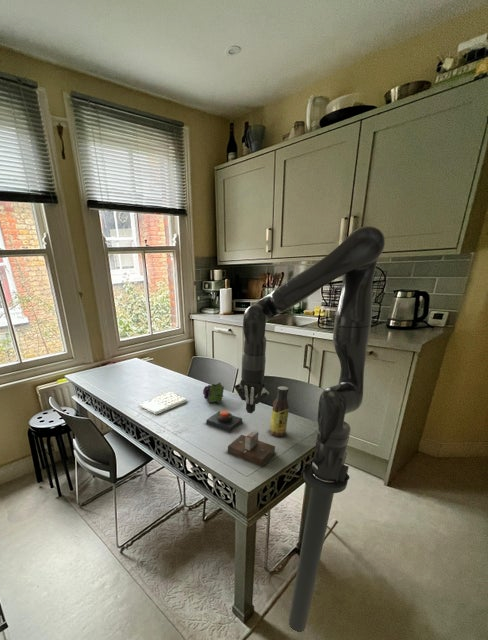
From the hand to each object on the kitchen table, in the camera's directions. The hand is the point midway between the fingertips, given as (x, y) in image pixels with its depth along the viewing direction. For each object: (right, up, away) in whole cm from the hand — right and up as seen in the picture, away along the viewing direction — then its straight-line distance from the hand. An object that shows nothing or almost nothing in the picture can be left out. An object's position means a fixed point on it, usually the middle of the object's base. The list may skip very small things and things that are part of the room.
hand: (250, 412), depth 112 cm
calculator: (-34, +2, +45) cm, 57 cm away
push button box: (-6, -6, +26) cm, 27 cm away
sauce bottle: (+15, -9, +17) cm, 25 cm away
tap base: (+1, -15, +5) cm, 16 cm away
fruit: (-10, +4, +47) cm, 48 cm away
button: (-6, -3, +24) cm, 25 cm away
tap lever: (+1, -13, +4) cm, 13 cm away
